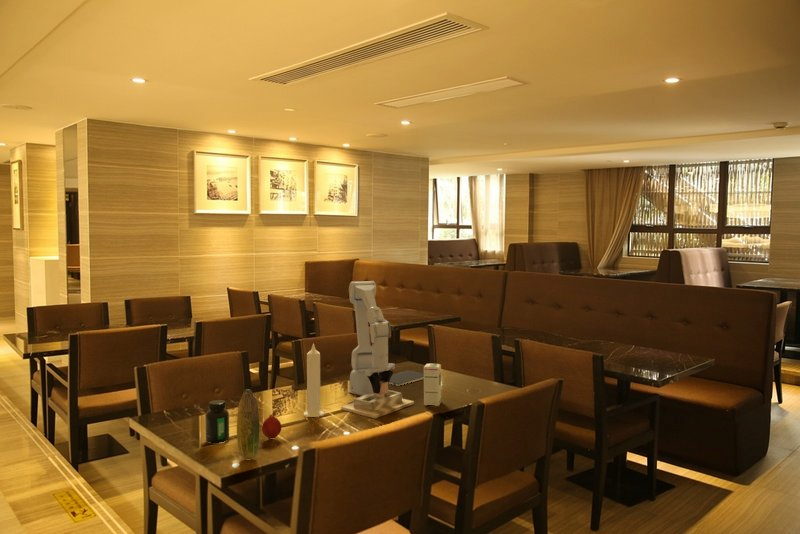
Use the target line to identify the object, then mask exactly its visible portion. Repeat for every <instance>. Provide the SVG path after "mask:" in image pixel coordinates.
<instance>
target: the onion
mask: <svg viewBox="0 0 800 534" xmlns="http://www.w3.org/2000/svg"><path fill="white" fill-rule="evenodd" d="M281 431H282V424H281V421H280V420H279V419H278V418H277V417H276V416H275V415H274V414H272V413H271V414H269V415H268V417H267V418H265V420H264V421H263V423H262V426H261V433H262V434H263V435H264V436H265V437H266V438H268V439H269V438H274V439H276V438H277V437H278V436H279V435H280V434H281Z"/></svg>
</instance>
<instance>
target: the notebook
mask: <svg viewBox="0 0 800 534" xmlns="http://www.w3.org/2000/svg"><path fill="white" fill-rule="evenodd" d="M421 380H424V372H421V371H420V372H417V371H414V370H411V369H410V370H408V369H407V370H404V371H401V372H397V373H393V375H392V376H391V378H390V381H389V384H388V385H391V384H392V385H391V386H394V385H396V387H401V386H400V385H402V386H404V384H405V385H408V384H411V382H412V383H414V382H417V381H421ZM407 383H408V384H407Z"/></svg>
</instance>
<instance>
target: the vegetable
mask: <svg viewBox="0 0 800 534" xmlns="http://www.w3.org/2000/svg"><path fill="white" fill-rule="evenodd" d="M260 425H261V424H260V413H259V404H258V400H257V398H256V396H255V395H254V393H253V391H252V390H251V389H250V388H249V389H248V388H246V389H244V391H243V392H242V395H241V398H240V400H239V404H238V411H237V416H236V436H237V437H236V439H237V447H238V452H239V454H240V456H241V458H242V459H244V460H245V459H252V458H253V459H255V458H256V456H257V455H258V452H259V446H260V428H261V427H260ZM254 457H255V458H254ZM253 459H252V460H253Z"/></svg>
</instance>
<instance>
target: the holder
mask: <svg viewBox="0 0 800 534" xmlns="http://www.w3.org/2000/svg"><path fill="white" fill-rule="evenodd" d="M374 398H377V394H376V393H371V394H367V395H364V396H362V395H360V396H358V397H356V398H353V402H352V403H349V404H346V405H343V406H341V407H340V409H342V410H341V411H345V412H350V413H352V412H353V414H357V415H360V416H363V417H369V418H373V419H377V418H381V417H383V416H386V415H388V414H391V413H393V412H396V411H400V410H402V409H404V408H408V407H409V406H413V405H415V401H414V400H412V399H411V400H410V399H406V398H403V393H402V392H399V391H396V390H390V389H388V393H385V394H384V397H380V398H377V399H374ZM371 399H374V400H371Z"/></svg>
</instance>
